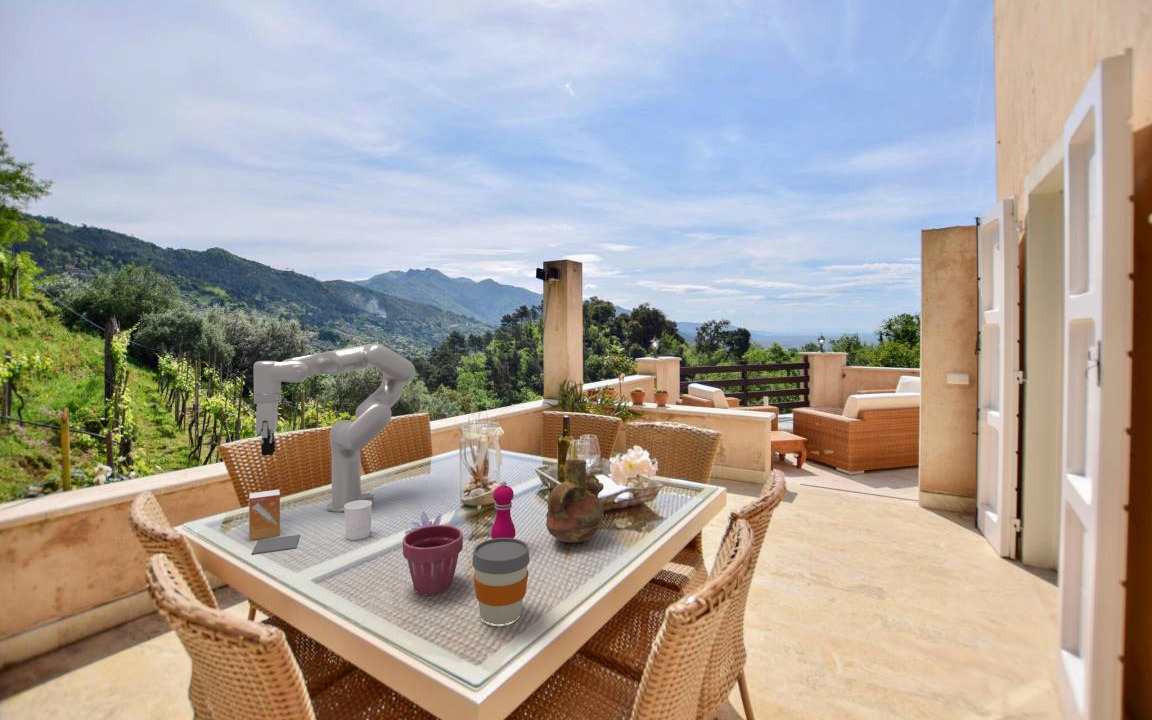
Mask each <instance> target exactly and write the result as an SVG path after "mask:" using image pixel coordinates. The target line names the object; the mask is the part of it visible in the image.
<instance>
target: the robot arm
mask: <svg viewBox="0 0 1152 720" xmlns="http://www.w3.org/2000/svg"><path fill="white" fill-rule="evenodd" d="M370 367H371V368H372V367H374V368H376V369H378V371H379V370H380V371H381V372H382V382H381V384H380V385H379V387H378V388H377V389H376V390H375V391H374V392H373V393H371V394H370V396H368V397H367V398H366V399H365V400H364V401H362V402H361V403H360V404H359V405H358V406H357V408H356V410H355V419H354V420H349V419H341V420H338V421H336V423H334V424H333V425H332V426H331V428H330V430H329V443H330V451H331V502H329V503H328V504H326V508H327V509H326V510H328V511H330V512H333V513H334V512H335V513H341V512H344V505H345V504H347V503H349V502H353V501H359V500H367V501H371V500H374V499H375V494H374V493H370V492H369V493H363V492H362V490H361V489H362V488H361V485H362V483H361V481H362V479H361V449H362V448H365V446H367V445H368V444H369V443H370V442H371V441H372V440H373V439H374V438H375V437H376V436H377V435H379V434H380V433H381V431H383V430H384V429H385V428H386V427H387V425H389V423H390V421H391V419H392V409H391V408H392V407H393V406H394V405H396V403H398V401H399V399H400V398H401V397H402V394H403V391H404V385H405V383H408V382H410V381H411V380H413V378H414V377H415V375H416V367H415V366H414V364H413V363H412V362H411V361H410V360H408V359H407V358H405V357H403V356H402V355H400V354H398V353H396V352H395V351H394V350H392V349H390V348H388V347H387V346H385V345H383V344H380V343H378V344H377V343H367V344H361V345H356V346H351V347H346V348H340V349H334V350H329V351H324V352H320V353H315V354H308V355H303V356H298V357H292V358H289V359H288V358H287V359H284V360H282V361H276V360H258V361H255V362H254V363H253V404H255V405H256V414H255V434H256V435H258V436H259V435H260V433H261V442H260V443H261V451H260V452H261V456H262V457H264V456H265V457H266V456H273V455H274V453H275V452H276V441H275V432H276V431H277V429H278V404H280V403H282V382H283V383H284V382H285V383H295V384H296V383H301V382H303V381H305V380H306V379H307V377H312V376H313V377H314V376H318V375H337V374H338V375H339V374H343V373H344V374H345V373H348V372H353V371H356V370H362V369H366V368H370Z"/></svg>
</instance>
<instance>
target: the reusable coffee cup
mask: <svg viewBox="0 0 1152 720" xmlns="http://www.w3.org/2000/svg"><path fill="white" fill-rule="evenodd" d="M529 549H530V548H529V545H528V544H527V543H526V542H525V541H523V540H521V539H517V538H495V539H492V538H491V539H486V540H484V541H481V542H480V543H477V544H476V546H475V547H474V548H473V552H472V553H473V554H472V566H473V567H472V568H474V574H473V584H474V592H475V598H476V599H477V600H478V608H479V616H481V617H480V619H481V618H482V619H483V620H484V621H486V622H489V623H493V624H505V623H509V622H512V621H514V620H516V619H517V618H518V617H519V616H520V615H521V616H522V610H523V605H524V604H523V603H524V602H523V601H524V598H525V596H526V594H527V586H528V577H529V570H528V566H529V563H530V561H531V559H530V550H529Z"/></svg>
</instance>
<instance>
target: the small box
mask: <svg viewBox="0 0 1152 720" xmlns="http://www.w3.org/2000/svg"><path fill="white" fill-rule="evenodd" d="M248 497H249V499H248V503H249V505H248V524H249V525H248V526H249V527H248V528H249V529H248V530H249V531H248V533H249V534H248V535H249V536H248V537H249V538H248V541H254V540H261V539H268V538H274V537H280V536H279V535H281V492H280V489H272V490H265V491H263V490H262V491H259V492H258V491H257V492H251V493H249V494H248Z"/></svg>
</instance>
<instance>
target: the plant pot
mask: <svg viewBox="0 0 1152 720" xmlns="http://www.w3.org/2000/svg"><path fill="white" fill-rule="evenodd" d="M463 535H464V534H463V531H462V529H460V528H458V527H456V526H453V525H449V524H448V525H446V524H439V525H433V526H426V527H422V528H419V529H416V530H413V531H411V532H409V533H408V534H406V535H405V534H404V537H403V538H402V554H403V557H404V559H405V560H407V564H408V569H409V573H410V577H411V582H412V586H413V588H414V591H415V592H416V591H417V592H418V593H417V592H416V593H417V594H419V593H420V594H419V595H422V594H427V595H426V596H434V595H433V594H435V595H439V594H442V593H444V592H446V591H448V590H449V589H450V588H451V587H452V585H453V583H454V582H453V580H454V577H455V572H456V569H457V565H458V558H459V553H461V552H462V550H463V547H464V541H463V540H464V536H463ZM447 589H448V590H447ZM445 590H446V591H445ZM441 592H442V593H441ZM438 593H439V594H438Z"/></svg>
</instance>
